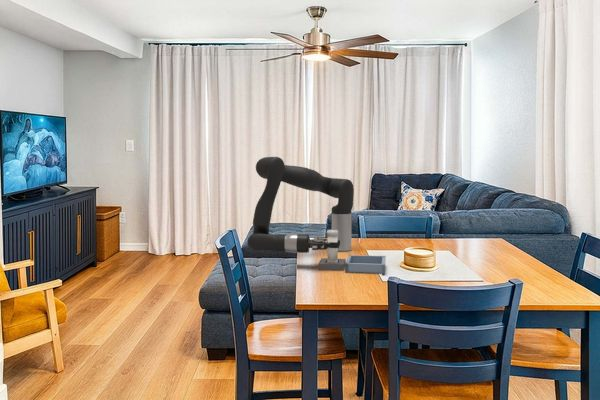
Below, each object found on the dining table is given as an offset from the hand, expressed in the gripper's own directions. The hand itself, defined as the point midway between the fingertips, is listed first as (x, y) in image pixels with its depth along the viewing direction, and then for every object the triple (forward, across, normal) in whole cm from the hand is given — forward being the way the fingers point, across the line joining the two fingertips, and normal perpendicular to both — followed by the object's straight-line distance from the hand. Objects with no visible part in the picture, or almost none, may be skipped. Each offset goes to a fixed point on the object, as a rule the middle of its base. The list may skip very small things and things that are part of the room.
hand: (339, 244), depth 229 cm
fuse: (-3, 0, +8) cm, 9 cm away
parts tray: (+11, 0, +10) cm, 15 cm away
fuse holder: (-3, 0, +10) cm, 10 cm away
